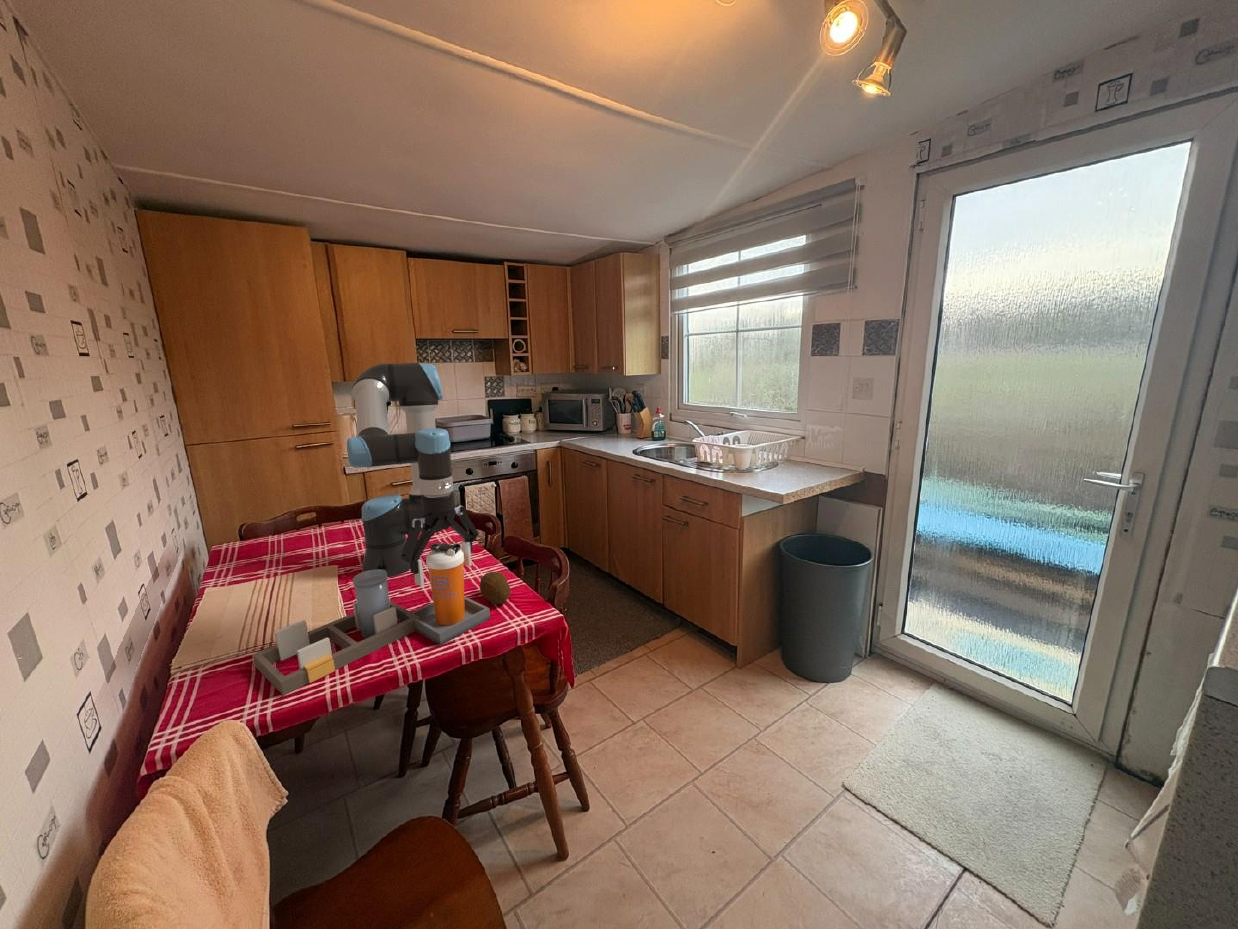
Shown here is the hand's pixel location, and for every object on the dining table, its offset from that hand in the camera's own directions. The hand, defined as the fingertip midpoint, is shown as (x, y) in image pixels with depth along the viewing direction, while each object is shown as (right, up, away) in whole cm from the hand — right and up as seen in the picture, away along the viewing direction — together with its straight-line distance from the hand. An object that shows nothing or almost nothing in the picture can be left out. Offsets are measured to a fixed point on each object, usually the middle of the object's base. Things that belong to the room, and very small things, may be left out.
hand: (444, 574), depth 121 cm
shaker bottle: (0, -12, +3) cm, 13 cm away
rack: (-21, -15, -7) cm, 27 cm away
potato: (+9, -10, +15) cm, 20 cm away
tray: (0, -13, +3) cm, 13 cm away
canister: (-16, -14, -1) cm, 22 cm away
